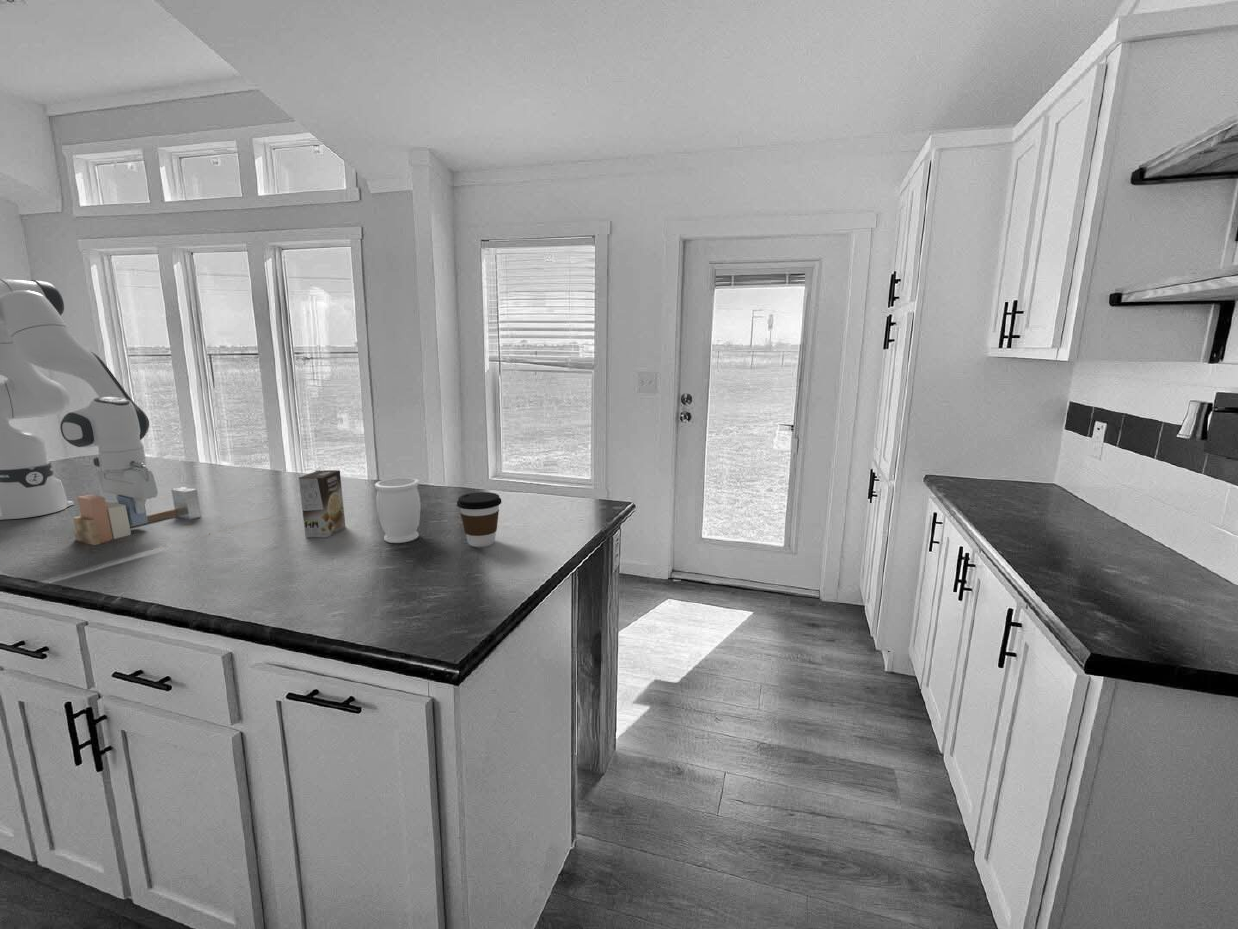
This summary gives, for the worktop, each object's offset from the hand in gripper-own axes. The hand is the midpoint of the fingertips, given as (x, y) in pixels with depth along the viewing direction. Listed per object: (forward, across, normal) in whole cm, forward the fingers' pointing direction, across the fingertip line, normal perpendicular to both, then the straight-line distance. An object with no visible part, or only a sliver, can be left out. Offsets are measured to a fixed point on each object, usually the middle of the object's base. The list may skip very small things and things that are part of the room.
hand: (133, 511), depth 151 cm
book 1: (+5, 0, +8) cm, 9 cm away
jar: (+6, -67, -27) cm, 72 cm away
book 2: (+5, 0, +5) cm, 7 cm away
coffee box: (+6, -45, -22) cm, 50 cm away
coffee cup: (+6, -88, -33) cm, 94 cm away
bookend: (+5, 0, -13) cm, 14 cm away
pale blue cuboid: (+3, 0, 0) cm, 3 cm away
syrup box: (+6, +20, -6) cm, 22 cm away
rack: (+6, 0, -2) cm, 6 cm away
